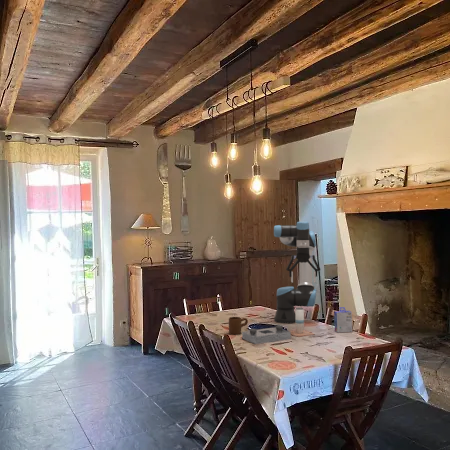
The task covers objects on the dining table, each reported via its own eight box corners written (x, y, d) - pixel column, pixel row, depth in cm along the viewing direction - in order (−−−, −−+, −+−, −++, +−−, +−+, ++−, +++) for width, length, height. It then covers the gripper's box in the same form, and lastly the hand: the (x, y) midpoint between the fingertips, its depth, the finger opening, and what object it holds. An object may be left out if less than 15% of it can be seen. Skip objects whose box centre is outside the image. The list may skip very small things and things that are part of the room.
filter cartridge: (296, 333, 267) (295, 308, 267) (295, 331, 272) (294, 307, 272) (304, 333, 267) (304, 308, 267) (303, 331, 272) (303, 307, 272)
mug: (246, 331, 278) (246, 316, 278) (249, 334, 270) (249, 318, 270) (227, 332, 275) (227, 317, 275) (230, 335, 267) (230, 319, 267)
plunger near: (248, 338, 255) (248, 329, 255) (254, 337, 257) (254, 328, 257) (251, 339, 251) (251, 330, 251) (257, 339, 253) (257, 329, 253)
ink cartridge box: (349, 330, 279) (348, 306, 279) (352, 332, 273) (352, 308, 273) (333, 330, 277) (333, 307, 277) (337, 332, 272) (336, 308, 272)
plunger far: (274, 334, 263) (274, 325, 263) (280, 333, 265) (280, 325, 265) (278, 336, 260) (278, 327, 260) (284, 335, 262) (284, 326, 262)
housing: (242, 338, 259) (242, 331, 259) (276, 333, 270) (276, 327, 270) (255, 344, 246) (255, 336, 246) (290, 338, 258) (290, 331, 258)
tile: (285, 333, 272) (285, 332, 272) (301, 330, 278) (301, 329, 278) (298, 337, 261) (297, 336, 261) (314, 334, 267) (314, 333, 267)
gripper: (282, 247, 268) (283, 283, 268) (324, 247, 267) (325, 282, 267) (281, 247, 275) (282, 281, 275) (322, 246, 275) (322, 281, 275)
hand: (303, 282), depth 271 cm, fingers open, 13 cm apart
